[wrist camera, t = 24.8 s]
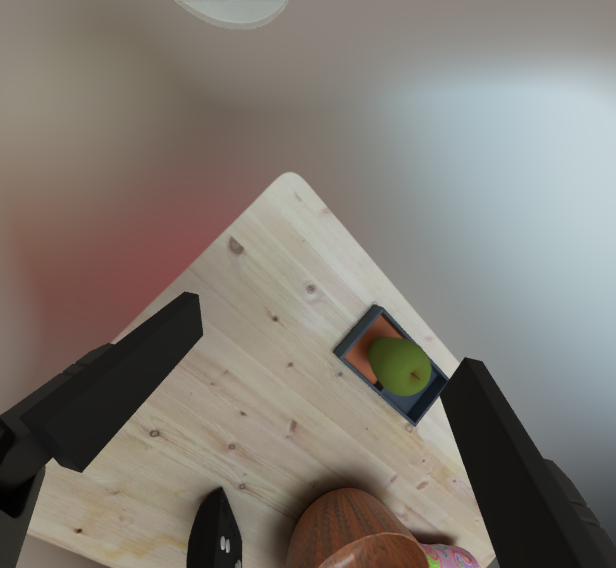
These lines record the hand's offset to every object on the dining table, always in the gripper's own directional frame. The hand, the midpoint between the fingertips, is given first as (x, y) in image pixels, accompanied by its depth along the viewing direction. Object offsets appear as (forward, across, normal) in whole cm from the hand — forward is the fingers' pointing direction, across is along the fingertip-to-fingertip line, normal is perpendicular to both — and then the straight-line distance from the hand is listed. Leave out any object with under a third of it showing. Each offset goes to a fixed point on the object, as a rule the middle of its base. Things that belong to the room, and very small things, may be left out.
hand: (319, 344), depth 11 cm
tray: (+26, +15, -25) cm, 39 cm away
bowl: (+9, +11, -55) cm, 57 cm away
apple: (+25, +11, -22) cm, 35 cm away
